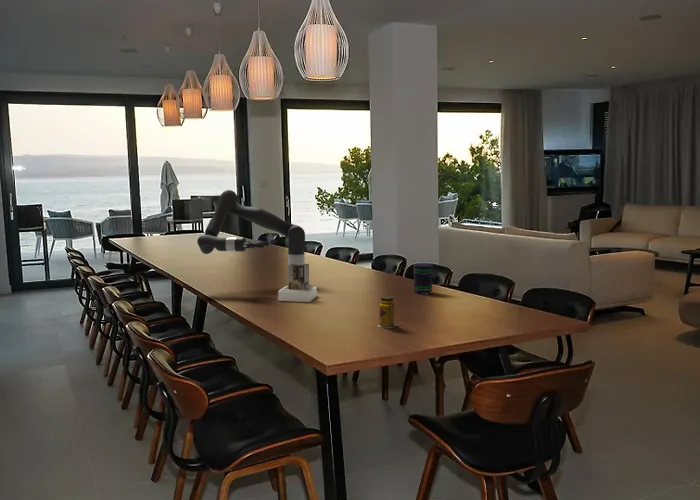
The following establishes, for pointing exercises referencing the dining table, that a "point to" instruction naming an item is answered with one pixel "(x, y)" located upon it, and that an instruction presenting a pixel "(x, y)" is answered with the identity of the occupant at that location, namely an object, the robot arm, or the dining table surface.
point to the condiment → (387, 312)
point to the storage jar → (422, 278)
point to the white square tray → (297, 294)
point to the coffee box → (298, 276)
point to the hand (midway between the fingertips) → (266, 244)
